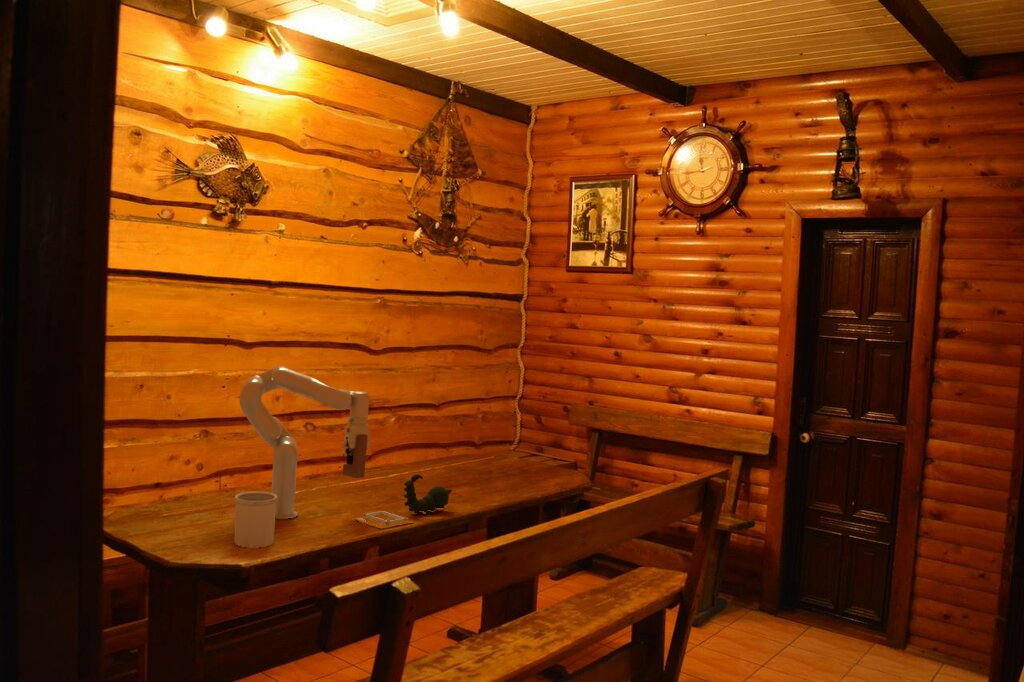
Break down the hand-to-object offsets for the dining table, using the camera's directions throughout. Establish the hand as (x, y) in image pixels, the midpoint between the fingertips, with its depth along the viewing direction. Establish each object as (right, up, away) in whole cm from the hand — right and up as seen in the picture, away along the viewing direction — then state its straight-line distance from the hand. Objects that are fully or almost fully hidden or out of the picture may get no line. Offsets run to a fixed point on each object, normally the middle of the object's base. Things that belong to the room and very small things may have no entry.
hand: (354, 463), depth 358 cm
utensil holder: (-28, -23, -47) cm, 59 cm away
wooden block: (-1, -6, 0) cm, 6 cm away
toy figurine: (+29, -24, +16) cm, 41 cm away
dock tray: (+14, -24, -5) cm, 28 cm away
